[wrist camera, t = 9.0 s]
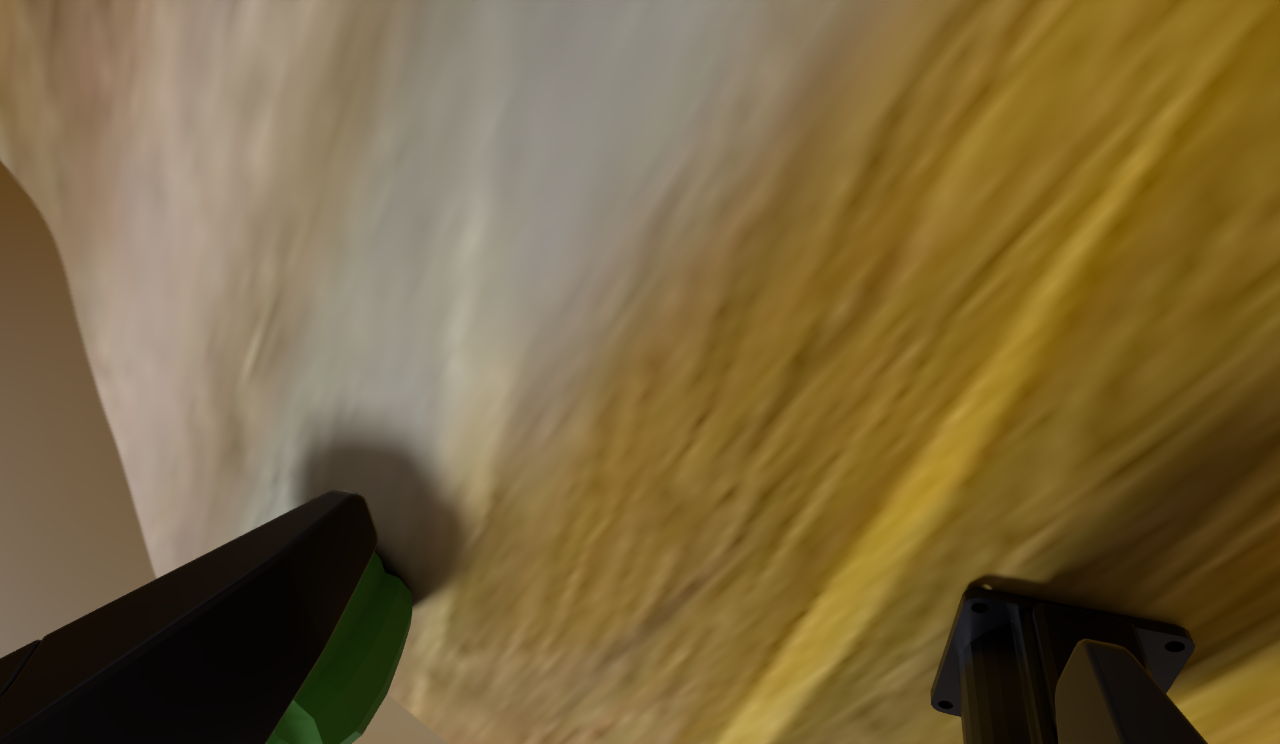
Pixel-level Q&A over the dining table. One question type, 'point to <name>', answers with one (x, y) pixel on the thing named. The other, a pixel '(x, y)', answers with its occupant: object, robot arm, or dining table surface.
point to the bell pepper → (352, 665)
